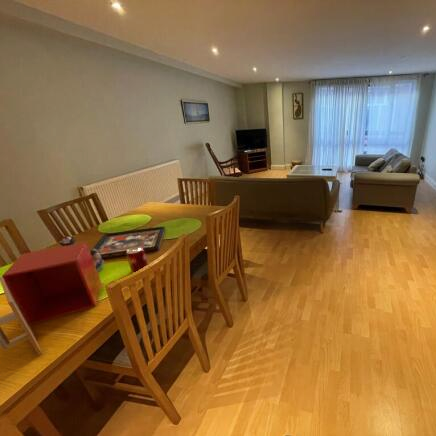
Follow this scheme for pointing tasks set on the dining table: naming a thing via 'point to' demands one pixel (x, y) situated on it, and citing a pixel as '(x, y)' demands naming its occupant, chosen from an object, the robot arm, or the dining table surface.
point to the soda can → (136, 258)
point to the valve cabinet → (54, 282)
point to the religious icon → (129, 241)
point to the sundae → (67, 241)
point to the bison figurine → (97, 259)
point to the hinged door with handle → (18, 314)
